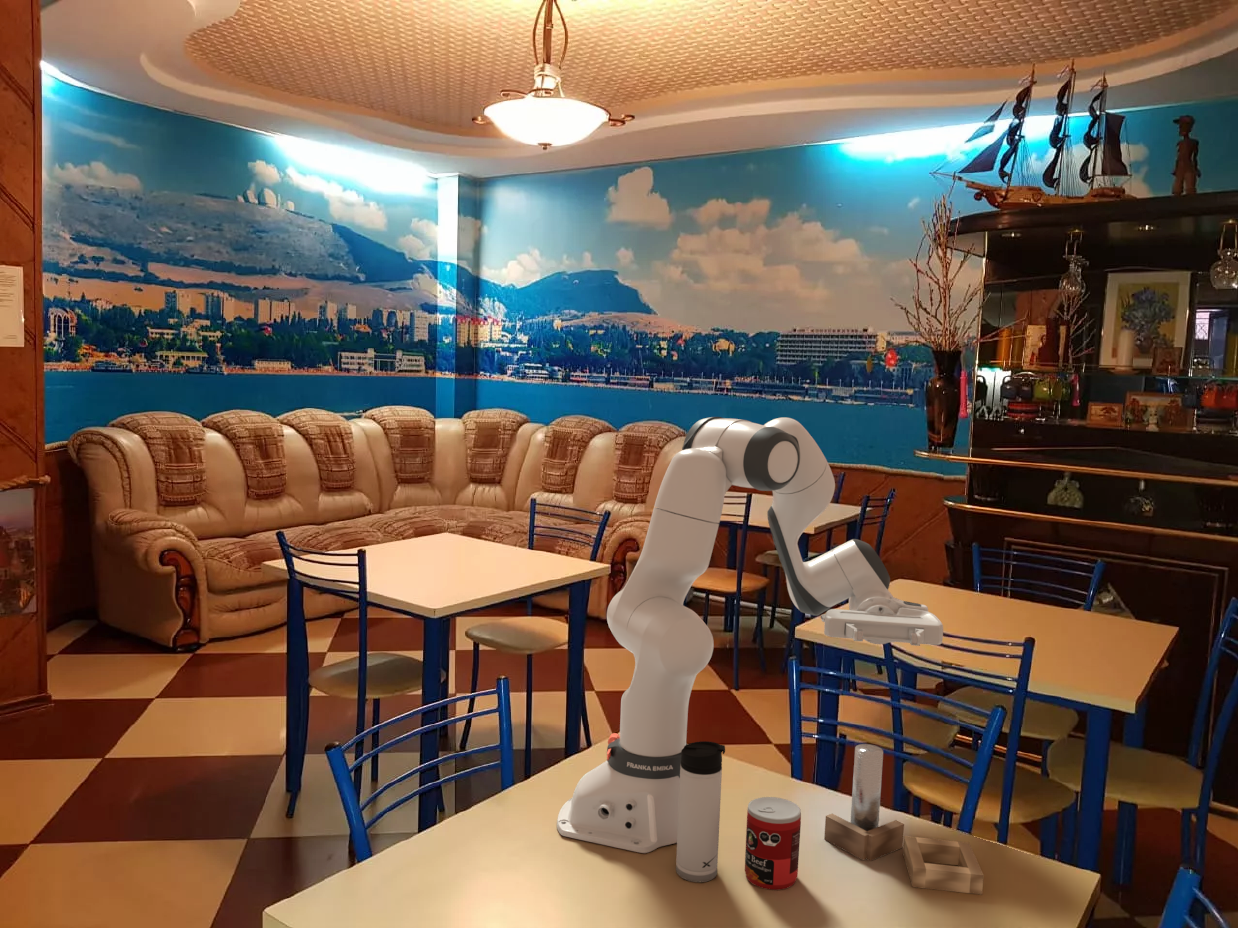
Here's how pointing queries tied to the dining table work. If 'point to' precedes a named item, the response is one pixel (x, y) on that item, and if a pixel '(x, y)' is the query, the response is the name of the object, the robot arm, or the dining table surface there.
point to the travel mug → (699, 811)
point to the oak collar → (942, 876)
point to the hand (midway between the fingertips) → (887, 638)
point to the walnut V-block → (864, 837)
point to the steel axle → (866, 786)
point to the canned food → (772, 842)
